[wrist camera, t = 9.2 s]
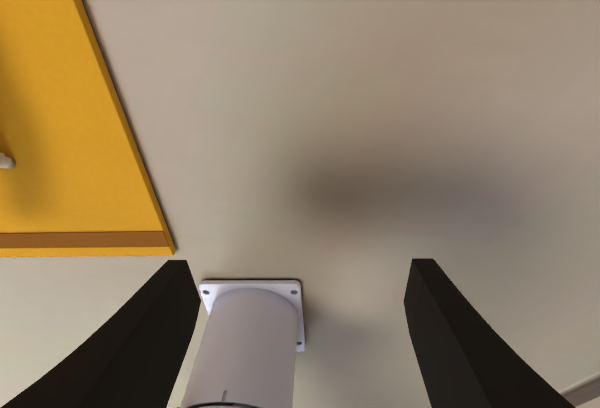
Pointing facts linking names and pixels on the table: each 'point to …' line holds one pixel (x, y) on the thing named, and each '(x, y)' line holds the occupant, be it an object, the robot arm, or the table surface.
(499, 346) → the robot arm
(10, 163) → the bull figurine
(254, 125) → the table surface
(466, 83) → the table surface
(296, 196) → the table surface
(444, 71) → the table surface
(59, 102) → the towel
